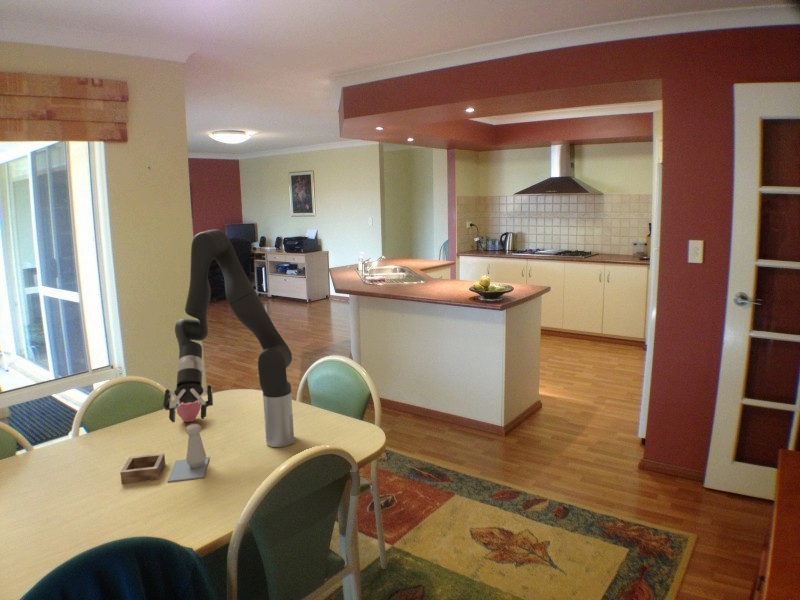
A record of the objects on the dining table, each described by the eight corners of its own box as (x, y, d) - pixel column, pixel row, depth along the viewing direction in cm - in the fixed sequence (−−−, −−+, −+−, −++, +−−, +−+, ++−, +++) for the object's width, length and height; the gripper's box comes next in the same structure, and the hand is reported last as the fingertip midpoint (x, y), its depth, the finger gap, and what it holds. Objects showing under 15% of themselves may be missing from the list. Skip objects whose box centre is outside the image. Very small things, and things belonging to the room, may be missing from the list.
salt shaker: (200, 470, 164) (196, 430, 161) (183, 469, 165) (178, 429, 162) (210, 461, 169) (206, 422, 167) (193, 460, 170) (189, 421, 168)
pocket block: (165, 463, 170) (164, 453, 169) (158, 479, 160) (157, 468, 159) (130, 467, 168) (129, 456, 167) (121, 483, 158) (120, 472, 157)
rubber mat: (209, 458, 173) (209, 456, 173) (203, 478, 160) (203, 476, 160) (175, 461, 171) (175, 460, 171) (167, 482, 158) (167, 481, 158)
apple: (178, 417, 206) (175, 392, 204) (202, 414, 208) (200, 389, 207) (176, 427, 197) (173, 401, 195) (201, 424, 199) (199, 398, 198)
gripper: (163, 369, 171) (160, 417, 162) (211, 365, 174) (210, 412, 165) (168, 380, 177) (165, 427, 168) (214, 376, 180) (213, 422, 171)
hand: (187, 419), depth 167 cm, fingers open, 8 cm apart
